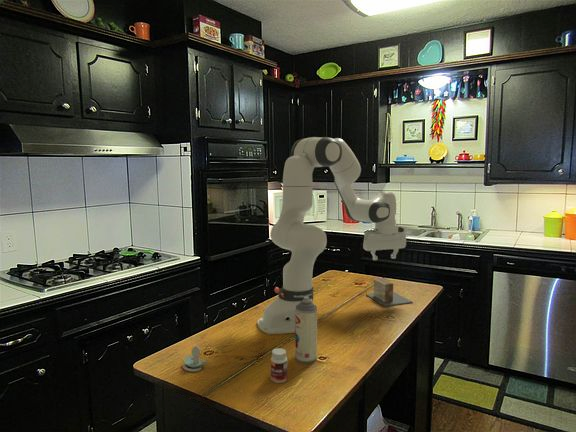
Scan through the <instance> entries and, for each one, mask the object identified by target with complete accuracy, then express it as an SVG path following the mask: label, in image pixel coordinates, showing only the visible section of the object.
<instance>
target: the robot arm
mask: <svg viewBox="0 0 576 432" xmlns="http://www.w3.org/2000/svg"><path fill="white" fill-rule="evenodd" d="M323 167H328V168H329V169H330V171H331V172H332V175H333V177H334V178H333V182H334V185H335V188H336V190H337V191H338V194H339V196H340V198H341V201H342V202H343V205H344V209H345V213H346V216H347V218H348V219H349V220H351V221H352V222H353V221H354V222H364V223H371V224H374V228H371V229H369V228H368V229H367V230H365V232H363V233H364V234H363V237H364V238H363V244H362V248H363V249H364V250H365V251H366V252H370V254H371V255H372V261H378V260H379V259H378V256H377V255H376V251H383V250H393V252H392V253H391V254H390V258H391V259H394V260H395V259H396V258H397V255H398V253H399V250H400V249H405V248H406V246H407V234H406V231H407V230H406V229H407V228H405V227H403V226H400V225H398V224H397V223H396V222H397V220H396V215H397V198H396V194H395V193H393V192H389V191H378V192H377V194H376V195H375V196H374V197H373V198H371V199H363V198H360V197H358V196H357V195H356V193H355V191H354V188H353V187H352V185H353V184H354V183H355V182H356V181H357V180H358V178H360V176H361V173H362V172H361V171H362V167H361V164H360V162H359V160H358V158H357V157H356V155H355V153H354V152H353V151H352V149H351V148H350V146H349V145H348V144H347V142H345V140H343V139H342V138H339V137H335V138H332V137H327V136H323V137H319V136H318V137H317V136H312V137H307V138H305V137H304V138H300V139H298V140H296V141H295V142H294V143H293V145H292V146H291V149H290V156H289V157H288V158H287V159H286V160H285V162H284V167H283V175H282V207H281V211H280V215H279V217H278V220H277V222H276V223H275V224H273V226H272V228H271V230H270V239H271V241H272V243H274V245H276V246H278V247H279V248H281V249H284V250H286V251H287V250H288V251H291V256H290V260H289V261H288V262H287V263H286V264H285V265H284V266H283V269H282V279H283V280H282V283H283V284H282V287H281V288H279V287H278V286H276V287H275V288H274V292H275V293H276V294H277V295H278V297H276V298H275V299H274V300H273V301H272V302H271V303H269V304H268V305H267V306H265V308H264V311H263V314H262V315H263V316H262V317H261V318H259V319H257V321H256V322H257V327H258V328H259V330H260V331H262V333H265V334H266V335H277V334H278V335H279V334H293V333H294V334H295V309H296V305H298V304H299V303H300V302H301V301H302V300H304V297H305V296H308V297H309V300H310V301H311V302H312V303H313V301H314V286H313V272H314V271H313V269H314V265H315V262H316V260H317V257H318V256H319V255H320V254H322V253H323V252H324V251H325V249H326V247H327V242H328V239H327V234H326V232H325V231H324V230H323V229H322V228H320V227H317V225H314V224H309V223H304V220H305V219H304V218H305V216H306V213H307V212H309V211H310V210H311V209H312V208H313V197H314V196H313V194H314V193H313V192H314V191H313V185H314V184H313V183H314V182H313V173H314V170H315V168H323Z"/></svg>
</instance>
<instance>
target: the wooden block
mask: <svg viewBox="0 0 576 432" xmlns="http://www.w3.org/2000/svg"><path fill="white" fill-rule="evenodd" d="M393 292H394V282H391V281H389V280H386V279H384V278H382V277H381V278H374V279H373V293H374V297H376V298H378V299H380V300H382V301H383V302H391V301H393Z"/></svg>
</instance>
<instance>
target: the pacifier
mask: <svg viewBox="0 0 576 432" xmlns="http://www.w3.org/2000/svg"><path fill="white" fill-rule="evenodd" d="M200 355H201V349H200V347H199V346H197V345H196V346H193V347H192V349H191V355H186V356H185V357H184V364H183V365H182V368H183V370H185V371H188V372H193V373H195V372H199V371H201V370H202V365H205V364H206V363H207V362H208V360H207V359H205V360H200ZM189 367H190V368H189Z"/></svg>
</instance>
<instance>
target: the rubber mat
mask: <svg viewBox="0 0 576 432" xmlns="http://www.w3.org/2000/svg"><path fill="white" fill-rule="evenodd" d="M365 296H367V297H368V298H370V299H371V300H373V301H375V302H376V303H379V304H380V305H382V306H384V307H385V308H386V307H393V306H400V305H401V306H402V305H406V304H407V305H408V304H413V302H414V301H412V300H411V299H408V298H407V297H404V296H402V295H400V294H399V293H396V292H394V291H393V301H391V302H383V301H382V300H380V299H378V298H376V297H374V292H373V293H366V295H365Z"/></svg>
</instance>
